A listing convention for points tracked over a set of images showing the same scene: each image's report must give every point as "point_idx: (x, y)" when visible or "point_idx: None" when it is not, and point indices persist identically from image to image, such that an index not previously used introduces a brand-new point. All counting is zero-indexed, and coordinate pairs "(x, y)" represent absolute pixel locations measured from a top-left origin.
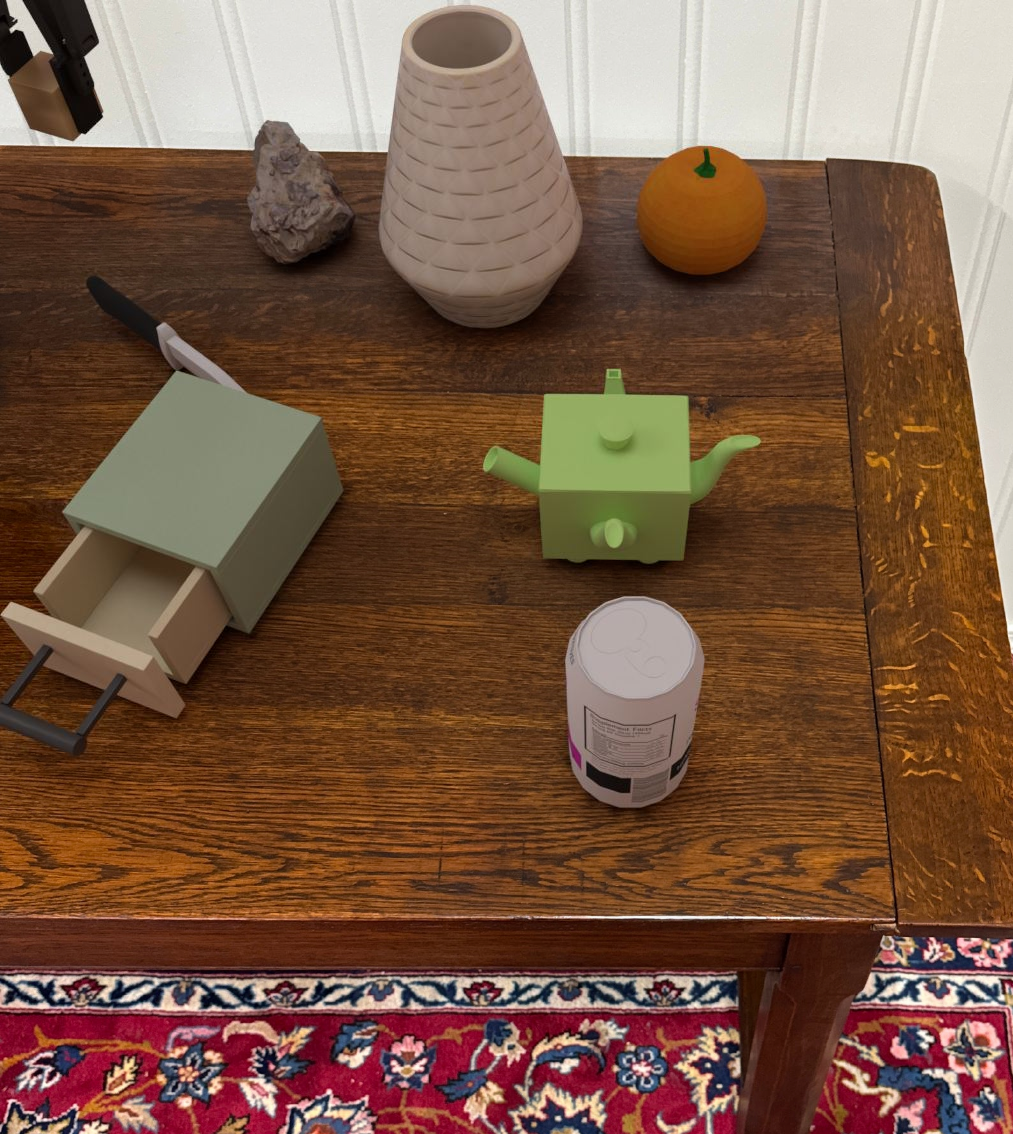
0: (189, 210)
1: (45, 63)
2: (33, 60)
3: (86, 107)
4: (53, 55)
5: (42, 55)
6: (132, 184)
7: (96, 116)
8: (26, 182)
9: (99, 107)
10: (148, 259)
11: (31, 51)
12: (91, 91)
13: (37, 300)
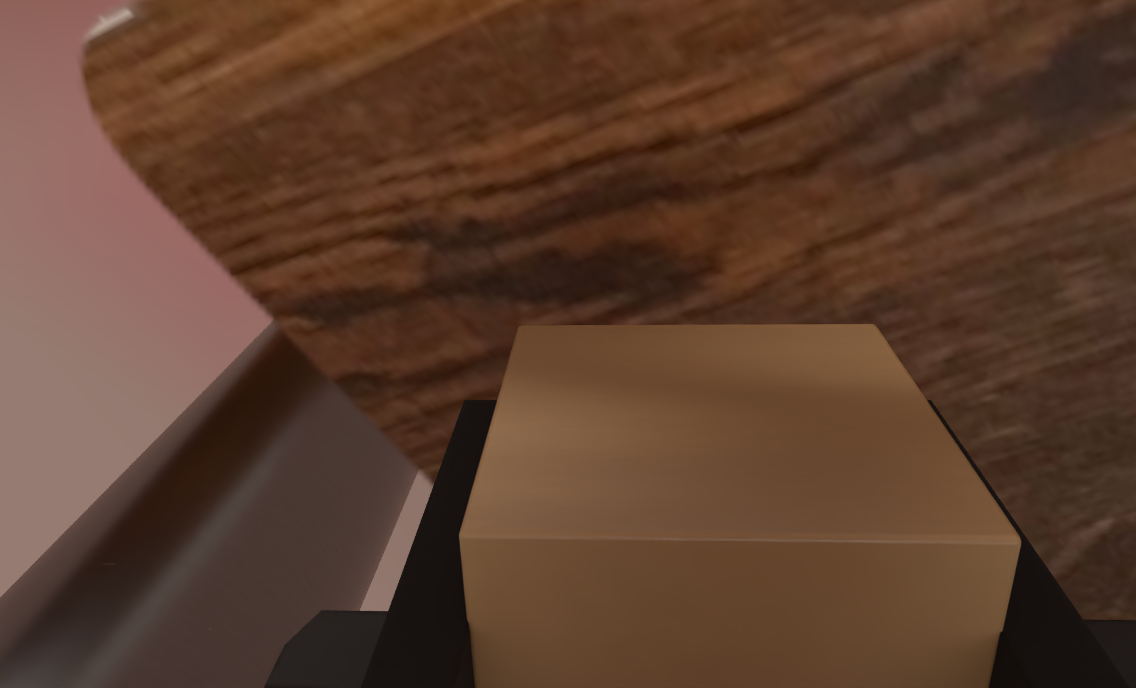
0: (1012, 125)
1: (643, 665)
2: (509, 667)
3: None
4: (635, 550)
5: (532, 583)
6: (676, 75)
7: None
8: (265, 238)
9: (953, 435)
10: (970, 421)
11: (460, 662)
12: None
13: None
